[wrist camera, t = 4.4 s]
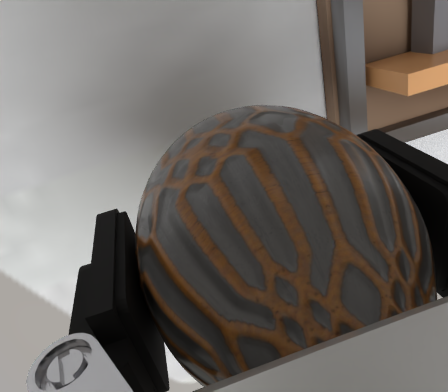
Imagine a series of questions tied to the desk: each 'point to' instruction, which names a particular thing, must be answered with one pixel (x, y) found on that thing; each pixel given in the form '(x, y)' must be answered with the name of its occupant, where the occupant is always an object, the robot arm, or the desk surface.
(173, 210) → the vase
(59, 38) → the desk surface
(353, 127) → the tray
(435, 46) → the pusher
